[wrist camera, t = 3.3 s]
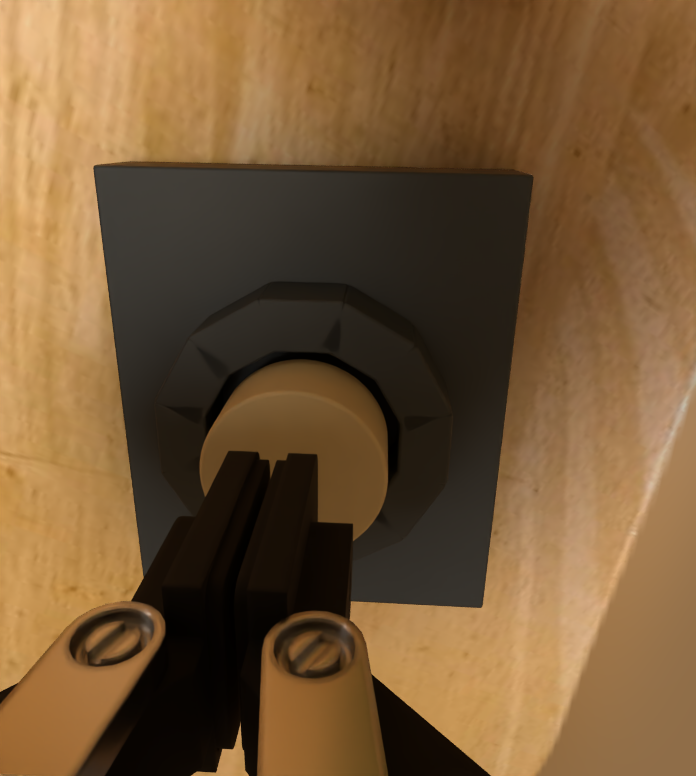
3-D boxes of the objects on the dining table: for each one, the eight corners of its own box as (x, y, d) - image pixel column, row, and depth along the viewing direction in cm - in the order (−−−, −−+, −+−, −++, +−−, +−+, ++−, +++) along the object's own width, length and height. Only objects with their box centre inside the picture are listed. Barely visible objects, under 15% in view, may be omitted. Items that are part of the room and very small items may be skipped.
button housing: (127, 161, 17) (53, 168, 13) (515, 169, 16) (554, 180, 12) (167, 547, 21) (120, 634, 17) (473, 562, 21) (492, 656, 17)
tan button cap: (216, 354, 15) (191, 388, 13) (391, 361, 14) (392, 395, 13) (226, 505, 16) (204, 554, 14) (384, 512, 16) (383, 563, 14)
